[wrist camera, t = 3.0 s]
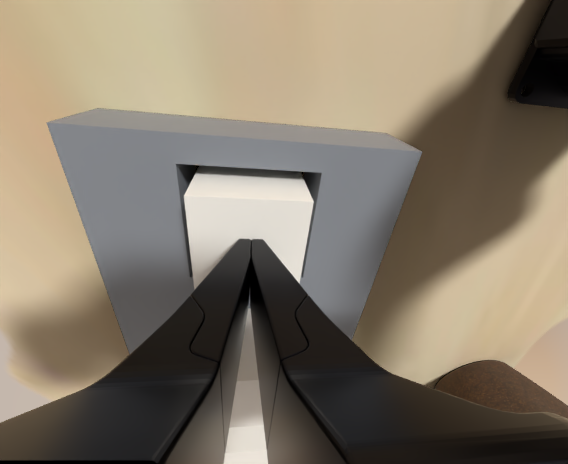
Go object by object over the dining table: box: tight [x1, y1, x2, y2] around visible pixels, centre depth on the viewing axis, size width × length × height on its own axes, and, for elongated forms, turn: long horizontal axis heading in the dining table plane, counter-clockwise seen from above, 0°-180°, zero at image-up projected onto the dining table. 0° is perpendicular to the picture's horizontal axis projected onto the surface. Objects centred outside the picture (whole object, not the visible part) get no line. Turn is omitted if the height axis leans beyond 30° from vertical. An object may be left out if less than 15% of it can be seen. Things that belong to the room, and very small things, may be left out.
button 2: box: [184, 165, 314, 290], centre depth 11 cm, size 4×4×4 cm
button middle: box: [229, 308, 264, 428], centre depth 13 cm, size 4×4×4 cm
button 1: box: [224, 425, 268, 464], centre depth 17 cm, size 4×4×4 cm
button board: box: [47, 108, 422, 354], centre depth 15 cm, size 12×21×3 cm, turn 174°
